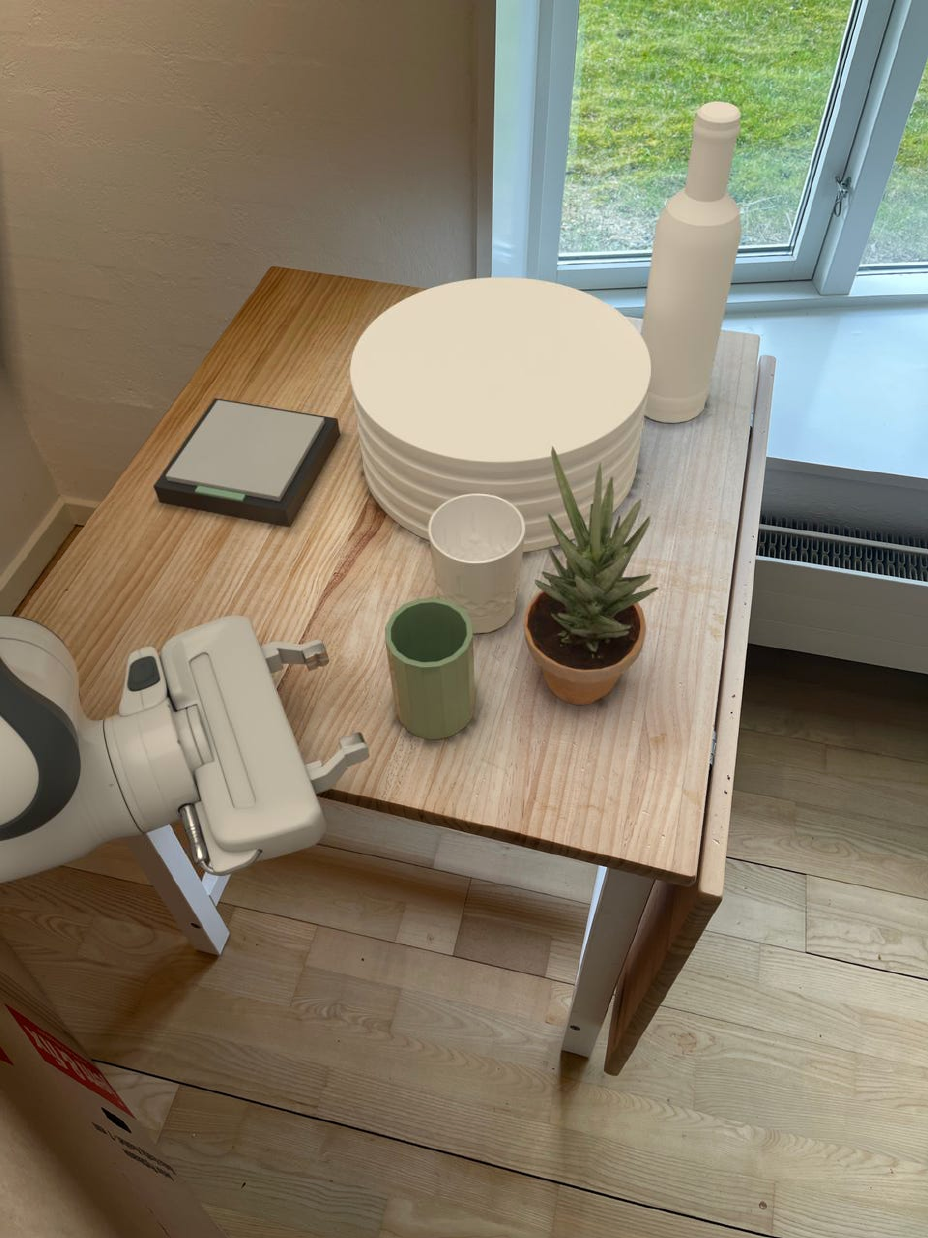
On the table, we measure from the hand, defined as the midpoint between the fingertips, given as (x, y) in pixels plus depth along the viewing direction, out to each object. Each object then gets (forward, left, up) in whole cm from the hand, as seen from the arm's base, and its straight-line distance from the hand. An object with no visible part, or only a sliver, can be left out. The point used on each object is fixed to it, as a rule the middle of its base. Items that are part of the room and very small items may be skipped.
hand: (345, 695), depth 72 cm
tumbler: (+7, -1, -6) cm, 9 cm away
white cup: (+15, +7, -6) cm, 18 cm away
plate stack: (+26, +24, -6) cm, 36 cm away
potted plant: (+19, -4, -6) cm, 20 cm away
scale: (+3, +34, -6) cm, 35 cm away
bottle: (+46, +23, -6) cm, 52 cm away
